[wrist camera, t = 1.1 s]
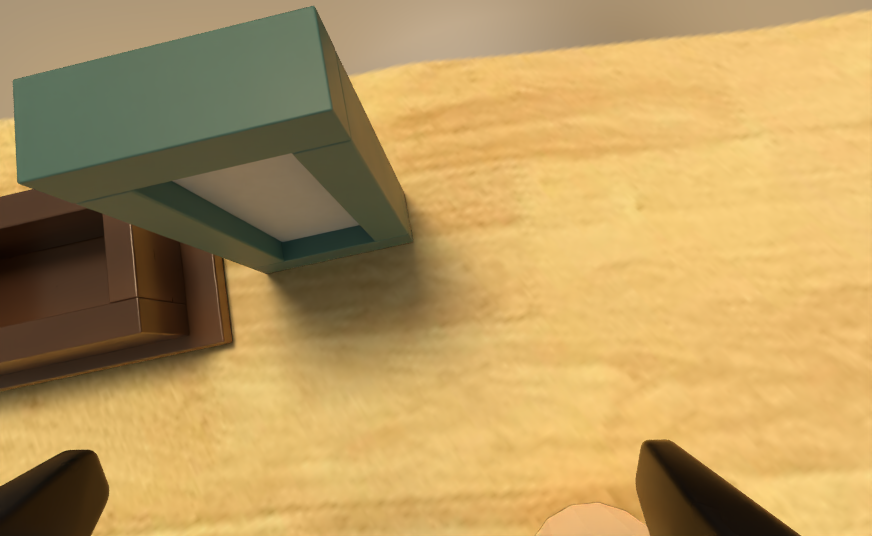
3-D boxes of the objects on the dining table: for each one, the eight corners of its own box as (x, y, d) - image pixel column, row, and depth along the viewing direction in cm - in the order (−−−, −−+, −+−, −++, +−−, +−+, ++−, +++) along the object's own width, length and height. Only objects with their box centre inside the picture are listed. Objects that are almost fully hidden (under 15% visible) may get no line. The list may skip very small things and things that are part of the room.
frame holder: (233, 342, 22) (180, 340, 18) (-52, 402, 23) (-161, 413, 19) (212, 178, 24) (160, 144, 20) (-55, 240, 25) (-157, 219, 21)
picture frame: (413, 242, 22) (333, 109, 10) (266, 274, 23) (16, 183, 11) (403, 190, 23) (314, 4, 11) (259, 223, 23) (11, 78, 11)
